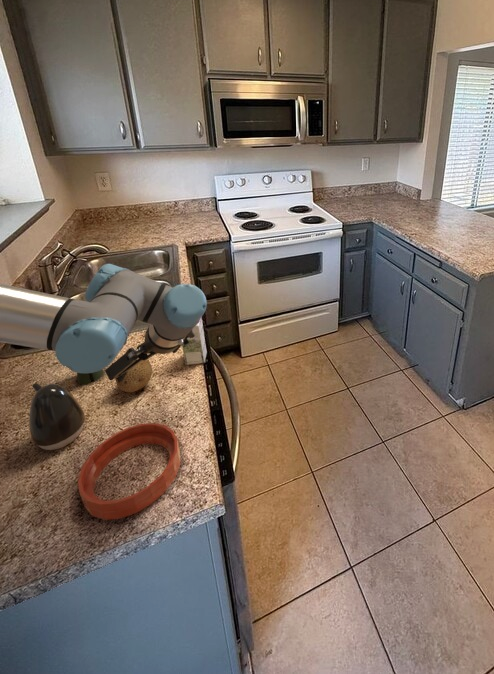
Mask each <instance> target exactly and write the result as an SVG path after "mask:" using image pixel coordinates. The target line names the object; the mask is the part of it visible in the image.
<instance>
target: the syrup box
mask: <svg viewBox="0 0 494 674" xmlns="http://www.w3.org/2000/svg"><path fill="white" fill-rule="evenodd" d="M199 321H200V322H199V323H198V324H197V325H196V326H195V327H194V328H193V329H192V332H193V333H194V335H195V336H194V337H193V338H187V340H188V341H189V343H188V344H186V345H184V343H183V344H182V346H181V349H182V353H183V358H184V364H185V366H189V365H199V364H205V363H206V358H207V355H208V351H207V345H206V339H205V333H204V325H203V316H202V317H201V319H200V320H199Z"/></svg>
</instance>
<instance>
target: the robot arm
mask: <svg viewBox="0 0 494 674" xmlns="http://www.w3.org/2000/svg"><path fill="white" fill-rule="evenodd" d="M84 299H85V300H81V299H75V298H71V297H66V296H61V295H55V294H51V293H47V292H42V291H37V290H33V289H28V288H23V287H19V286H15V285H14V286H13V285H9V284H4V283H0V343H5V344H9V345H10V344H11V345H16V346H21V347H29V348H33V349H34V348H35V349H40V350H46V351H52V352H55V357H56V359H57V360H58V362H59V364H60V365H61V366H62V367H66V368H67V369H70V371H71V372H73V373H76V374H77V373H93V372H97V371H100V370H104V372H105V374H106V376H107V378H108V380H109V381H114V380H116V379H117V381H118V382H121V381H122V380H123V379H124V377H125V375H126V374H127V371H128V370H130V369H131V368H133V367H134V366H135V365H137V364H138V363H140V362H141V361H142V360H149V359H151V358H152V357H154V356H155V355H167V354H170V353H172V354H175V353H177V352H178V351H179V350H180V348H182V344H183V343H184V345H186V344H188V343H189V341H188V340H187V338H193V337H194V336H195V335H194V333H193V332H192V329H193V328H194V327H195V326H196V325H197V324H198V323H199V322H200V321H199V320H200V319H201V317H202V318H203V316H204V314H205V312H206V310H207V306H208V302H207V297H206V295H205V293H204V292H203V291H202V289H200V287H198V286H196V285H194V284H191V283H180V284H176V285H174V286H170V285H168V284H163V283H162V282H159V281H156V280H154V279H152V278H150V277H147V276H145V275H142V274H140V273H138V272H136V271H133V270H131V269H129V268H126V267H121V266H118V265H115V264H113V263H105V264H103V265H102V266H100V267H99V269H98V270H97V272H96V273H95V274H94V276H93V277H92V279H91V281H90V282H89V284H88V286H87V288H86V290H85V293H84ZM137 321H139V322H143V323H145V324H149V325H148V326H147V328H146V331H145V333H144V341H143V342H142V343H140V344H139V345H138V346H137V347H136V349H135V348H134V347H130V348H128V349H127V350H126V351H125V353H124V354H122V355H121V356H120V357H119V358H117V356H118V355H119V354H120V352H121V351H122V349H123V348H124V346H125V345H126V344H127V341H128V337H129V336H130V333H131V332H132V330H133V329H134V326H135V325H136V323H137ZM116 358H117V359H116ZM115 359H116V360H115Z"/></svg>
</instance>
